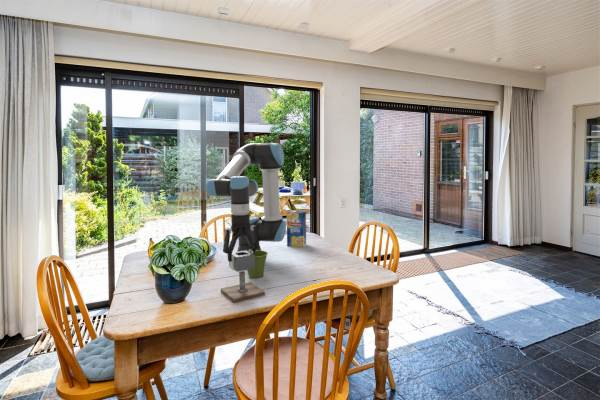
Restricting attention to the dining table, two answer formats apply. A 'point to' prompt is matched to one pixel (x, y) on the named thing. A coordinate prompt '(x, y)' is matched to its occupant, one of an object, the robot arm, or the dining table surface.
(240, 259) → the grey square block
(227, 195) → the robot arm
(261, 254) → the plant pot
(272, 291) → the dining table surface
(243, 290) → the stand
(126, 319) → the dining table surface
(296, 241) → the beverage box
